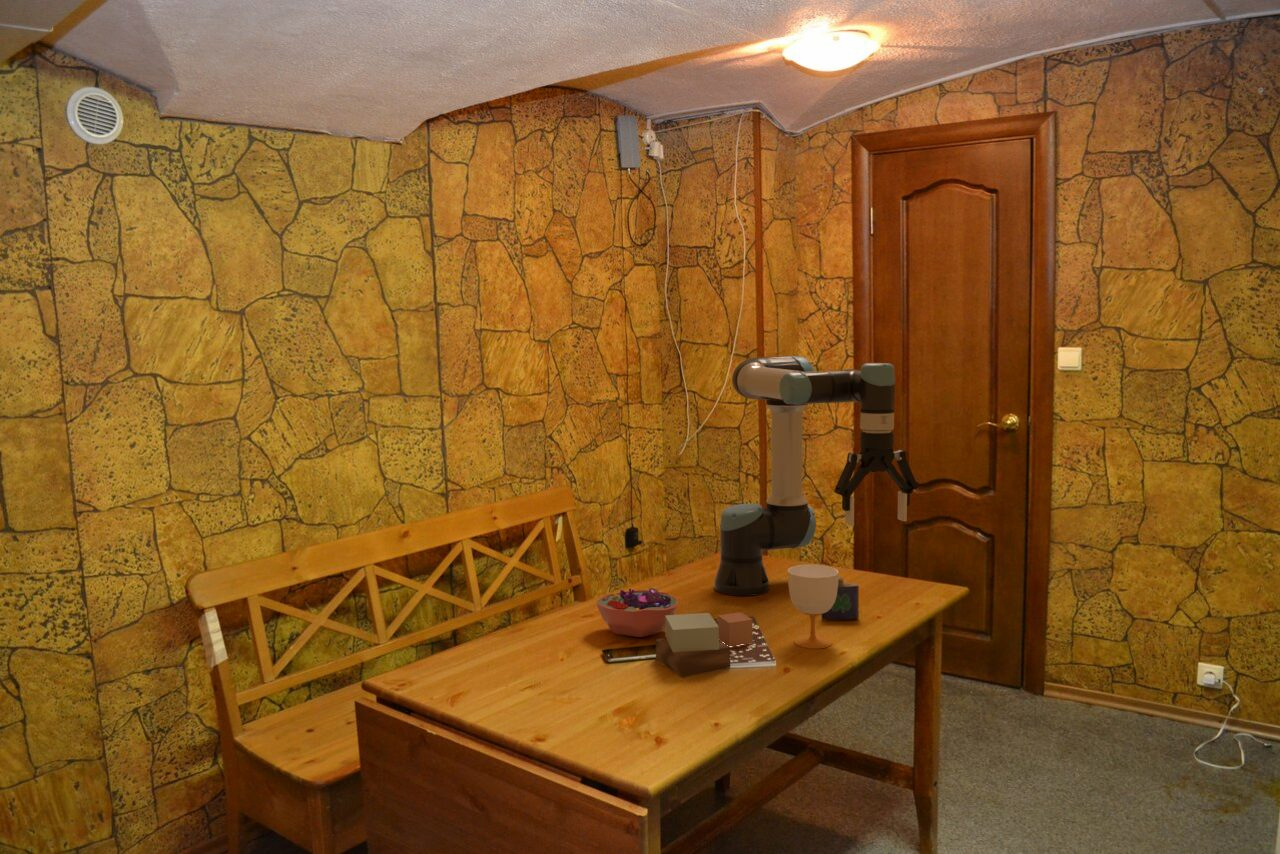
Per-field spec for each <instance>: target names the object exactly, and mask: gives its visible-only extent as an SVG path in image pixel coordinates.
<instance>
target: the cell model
mask: <svg viewBox="0 0 1280 854" xmlns="http://www.w3.org/2000/svg"><path fill="white" fill-rule="evenodd" d="M619 590H620V589H619ZM595 604H596V607H597V609H598V612H599V614H600V617H601V618H602V619H603V621H604V623H605V624H606V625H607V626H608V628H609V629H610V631H612V632H613V633H615V634H617V635H621V636H629V637H635V638H643V637H647V636H654V635H656V634H658V633H660V632H661V631H663V630H665V615H675V613H676V609H677V607H678V606H679V600H678V598H676V597H674V595H671V594H669V593H666V592H662V591H661V592H660V591H659V590H658V589H656V588H653V587H649V589H648V590H647V589H645V590H644V589H641V590H640V589H639V590H638V589H637V590H635V589H632V588H629V589H628V591H627V590H626V591H625V590H624V589H623V590H622V589H621V590H620V591H619V592H616V593H609V594H605V595H603V596H601V597H600V598H598V599H597V600H596V601H595Z"/></svg>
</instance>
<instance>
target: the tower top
mask: <svg viewBox="0 0 1280 854" xmlns="http://www.w3.org/2000/svg"><path fill="white" fill-rule="evenodd" d="M664 631H665V638H666V639H667V641H668V643H669V645H670V647H671V649H672V651H673V653H674V652H689V651H704V650H719V626H718V623H717V622H716V621H715V619H714V618H713V617H712V614H710V612H703V613H702V612H699V613H686V614H685V613H684V614H674V615H665V628H664Z"/></svg>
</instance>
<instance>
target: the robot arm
mask: <svg viewBox="0 0 1280 854" xmlns="http://www.w3.org/2000/svg"><path fill="white" fill-rule="evenodd" d="M895 374H896V373H895V366H894V364H891V363H889V362H888V363H886V362H885V363H884V362H869V363H867V362H866V363H863V364H862V365H861V368H860V370H858V369H854V368H851V369H850V368H849V369H842V370H827V371H826V370H825V371H815V369H814V366H813V364H812V362H810V360H809V359H808V358H806V357H803V356H794V355H788V356H787V355H785V356H767V357H766V356H764V357H762V356H759V357H757V356H756V357H752V358H751V357H750V358H748V359H745V360H743V361H741V362H740V363H738V365H737V366H736V367H735V368H734V370H733V371H732V375H731V376H732V377H731V382H732V386H733V389H734V390H735V392H736V393H737V394H738V395H740V396H741V397H744V398H746V399H751V400H765V406H766V407H767V408H768V409H770V412H771V495H770V496H769V497H768V498H767V499H766V501H765V508H763V506H762V505H761V504H759V503H741V504H735V505H731V506H729V507H727V508H725V509H724V510H723V511H722V512H721V515H720V524H719V529H720V563H719V566H718V569H717V571H716V572H717V573H716V576H715V579H714V590H715V591H717V592H719V593H721V594H724V595H728V596H729V595H730V596H737V597H738V596H740V597H742V596H745V597H747V596H757V595H761V594H762V595H763V594H764V593H766V592H768V591H769V590H770V582H769V580H770V579H769V577H768V574H767V572H766V568H765V565H764V562H763V551H771V550H772V551H773V550H783V549H785V550H786V549H797V548H802V547H807V546H808V545H809V544H810V543H811V542H812V540H813V539H814V537H815V534H816V530H817V529H816V527H817V520H816V519H817V518H816V516H815V515H816V514H815V510H814V509H813V508H812V506H811V505H808V504H809V503H808V500H807V499H806V497H805V496H803V420H804V419H803V414H804V412H803V411H804V410H805V409H806V408H807V407H808V406H809V404H810V405H812V404H836V403H837V404H838V403H839V404H840V403H860V416H859V417H860V418H859V419H860V420H859V421H860V422H859V423H860V425H859V426H860V427H859V428H860V429H861V430H862V431H861V432H860V434H859V447H860V452H859V453H852V452H847V456H846V463H845V466H844V467H843V469H842V472H841V474H840V477H839V478H838V481H837V483H836V485H835V488H834V489H833V491H834V494H836V495H839V496H841V499H842V500H841V509H842V510H843V511H844V512H845V513H844V517H845V518H844V523H845V524H846V525H847V526H851V527H852V526H855V497H854V496H852V495H853V493H854V492H855V491H856V490H857V488H858V487H859V485H860V484H861V483H862V482H863V480H864V479H865V478H866V476H868V475H869V474H870V473H877V472H886V473H887V474H888V475H889V476H890V478H891V479H892V480H893V482H894V483H895V484H896V485H897V487H898V488H899V489H900V490H901V491H897V520H899V521H902V522H907V521H908V520H907V516H908V515H907V514H908V513H907V512H908V507H910V505H911V504H910V502H911V500H910V499H911V494H913V493H914V490H918V489H919V485H918V483H917V481H916V479H915V476H914V474H913V472H912V470H911V467H910V465H909V463H908V460H907V452H906V451H905V450H901V449H896V450H895V451H894V447H895V433H894V432H893V430H894V429H895V402H896V401H895V398H896V395H895V394H896V377H895V376H896V375H895ZM894 460H896V464H897V466H898V467H899V470H900V472H901V474H902V476H903V477H902V476H901V475H900V473H899V471H898V470H897V467H895V466H894V464H893V463H892V462H893V461H894ZM859 461H860V462H861V463H860V464H859V466H858V467H857V464H858V463H859ZM856 467H857V469H856ZM855 469H856V471H855ZM854 472H855V473H854Z"/></svg>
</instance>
